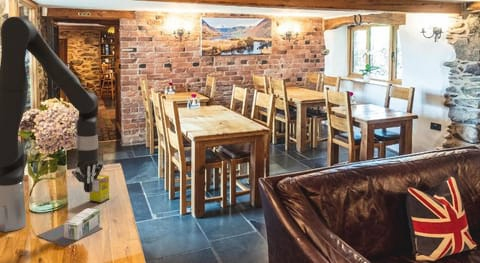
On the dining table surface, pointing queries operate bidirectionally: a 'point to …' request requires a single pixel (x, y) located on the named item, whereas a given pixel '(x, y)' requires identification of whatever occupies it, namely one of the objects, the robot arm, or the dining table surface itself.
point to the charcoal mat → (58, 235)
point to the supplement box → (100, 189)
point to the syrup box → (81, 223)
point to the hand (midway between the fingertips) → (88, 191)
